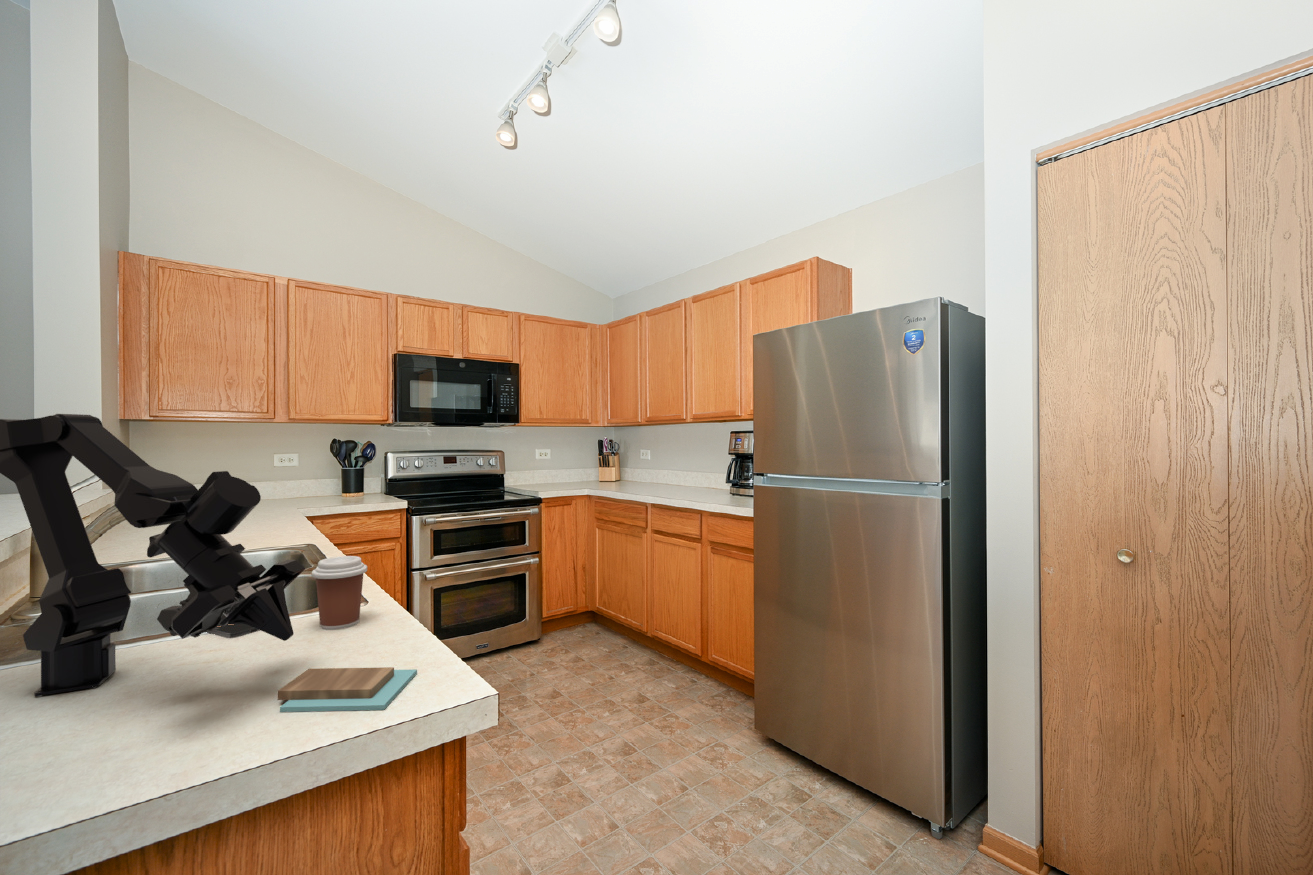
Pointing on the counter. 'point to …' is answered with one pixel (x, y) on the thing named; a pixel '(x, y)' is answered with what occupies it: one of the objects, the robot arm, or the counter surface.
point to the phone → (232, 630)
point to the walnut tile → (336, 683)
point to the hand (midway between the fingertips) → (289, 637)
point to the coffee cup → (339, 591)
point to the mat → (374, 703)
